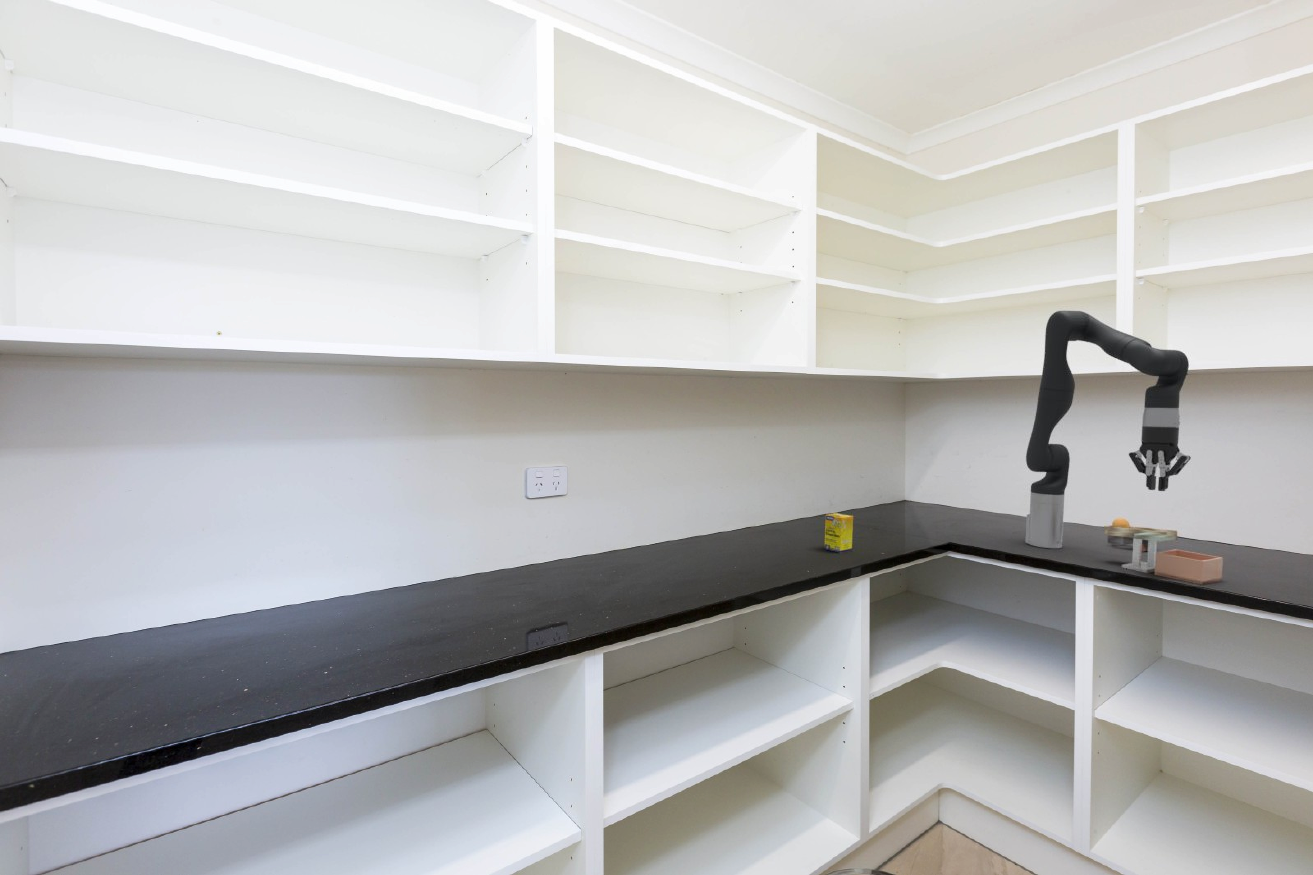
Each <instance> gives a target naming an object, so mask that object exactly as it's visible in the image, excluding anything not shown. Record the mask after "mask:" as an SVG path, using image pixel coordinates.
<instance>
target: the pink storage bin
mask: <svg viewBox="0 0 1313 875" xmlns="http://www.w3.org/2000/svg"><path fill="white" fill-rule="evenodd" d="M1223 562H1224V557H1221V556H1215V555H1209V554H1206V553H1205V554H1204V553H1198V552H1192V551H1187V550H1181V549H1176V548H1175V549H1170V550H1163V551H1158V552H1157V551H1156V561H1155V571H1154V575H1155V576H1159V577H1164V578H1168V579H1174V580H1177V581H1182V582H1187V583H1191V582H1193V583H1192V584H1196V583H1197V584H1196V585H1200V584H1201V586H1202V585H1203V584H1204V585H1208V584H1211V582H1213V583H1216V582H1221V581H1222V578H1223ZM1207 583H1208V584H1207Z"/></svg>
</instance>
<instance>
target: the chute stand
mask: <svg viewBox="0 0 1313 875" xmlns="http://www.w3.org/2000/svg"><path fill="white" fill-rule="evenodd" d="M1135 534H1137V533H1135ZM1157 543H1158V541H1150V540H1148V551H1147V556H1146V557H1147V559H1146V560H1147V561H1142V552H1141V551H1142V540H1141V539H1134V534H1133V544H1132V560H1131V562H1130V563H1124V564H1121V568H1123V569H1126V568H1127V569H1128V570H1131V571H1137V572H1140V573H1145V574H1146V573H1147V574H1148V573H1153V572H1154V573H1155V561H1156V553H1157V549H1158V548H1157V545H1158V544H1157Z"/></svg>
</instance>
